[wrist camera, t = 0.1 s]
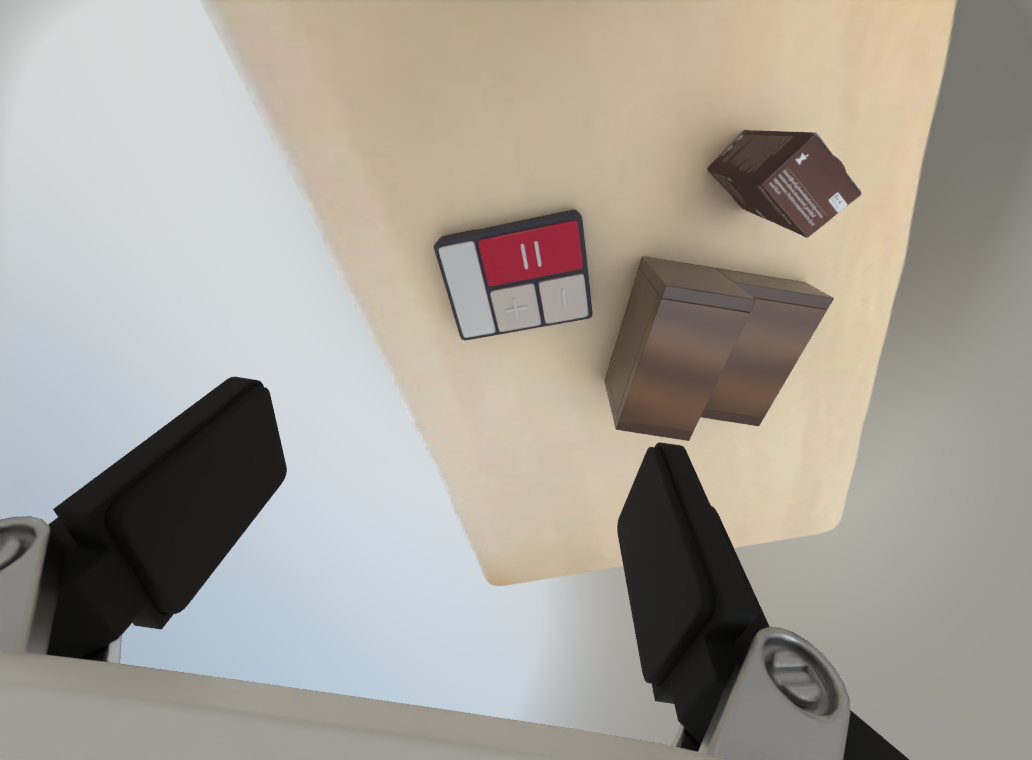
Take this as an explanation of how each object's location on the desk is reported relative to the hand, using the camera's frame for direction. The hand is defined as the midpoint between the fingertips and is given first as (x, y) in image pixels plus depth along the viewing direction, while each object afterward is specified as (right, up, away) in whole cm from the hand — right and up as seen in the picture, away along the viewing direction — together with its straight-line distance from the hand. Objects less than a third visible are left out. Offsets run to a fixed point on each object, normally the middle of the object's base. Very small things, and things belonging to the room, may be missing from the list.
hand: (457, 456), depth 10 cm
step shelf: (+22, +7, +37) cm, 43 cm away
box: (+23, +22, +28) cm, 43 cm away
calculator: (+2, +14, +35) cm, 37 cm away
